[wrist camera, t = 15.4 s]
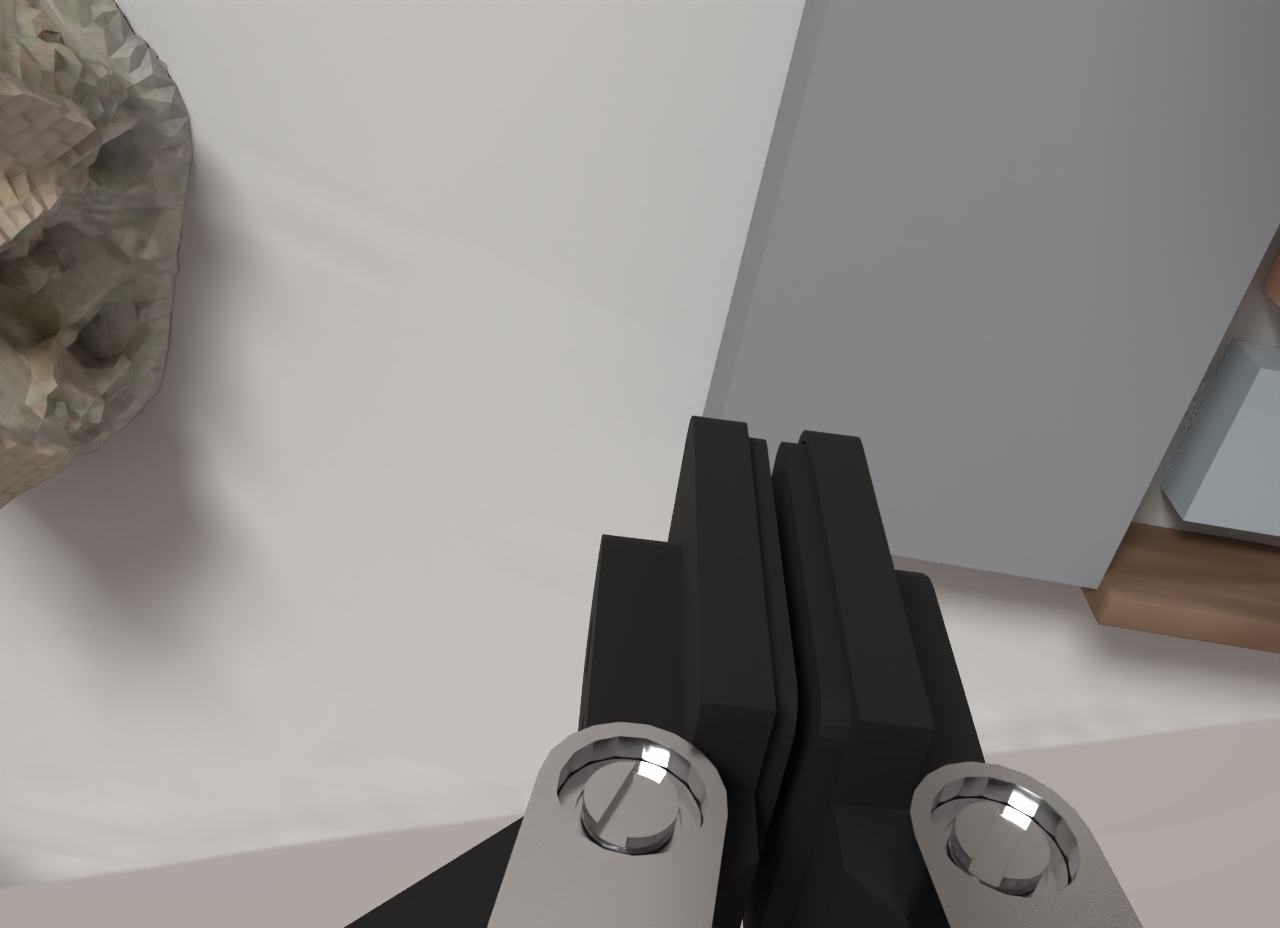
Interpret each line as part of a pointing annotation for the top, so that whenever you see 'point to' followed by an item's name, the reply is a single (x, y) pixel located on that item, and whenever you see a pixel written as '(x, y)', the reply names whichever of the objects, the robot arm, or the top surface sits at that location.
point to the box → (1192, 588)
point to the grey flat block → (1005, 257)
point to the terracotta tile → (1273, 283)
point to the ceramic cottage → (82, 230)
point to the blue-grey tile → (1233, 447)
